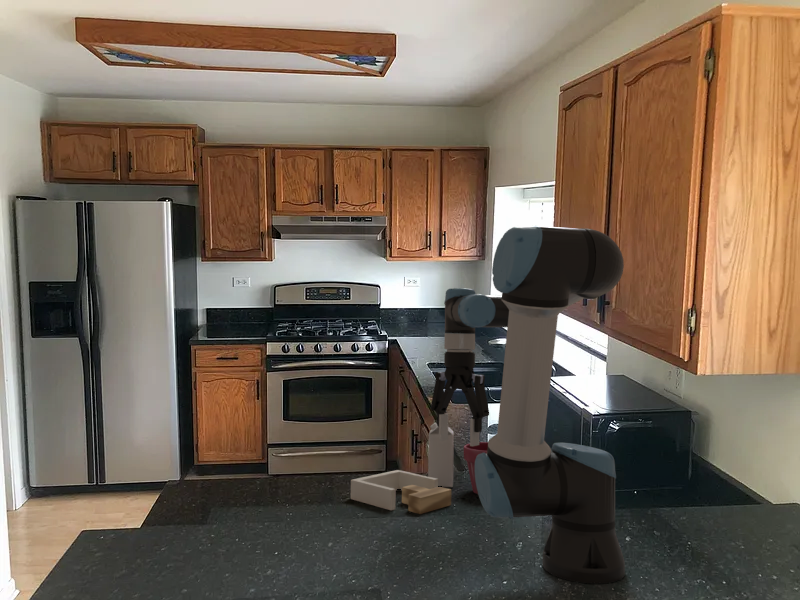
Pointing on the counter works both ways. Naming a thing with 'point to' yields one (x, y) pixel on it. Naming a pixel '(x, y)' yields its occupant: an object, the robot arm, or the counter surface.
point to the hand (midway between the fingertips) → (458, 442)
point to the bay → (387, 487)
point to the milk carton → (441, 457)
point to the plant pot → (470, 457)
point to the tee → (425, 498)
